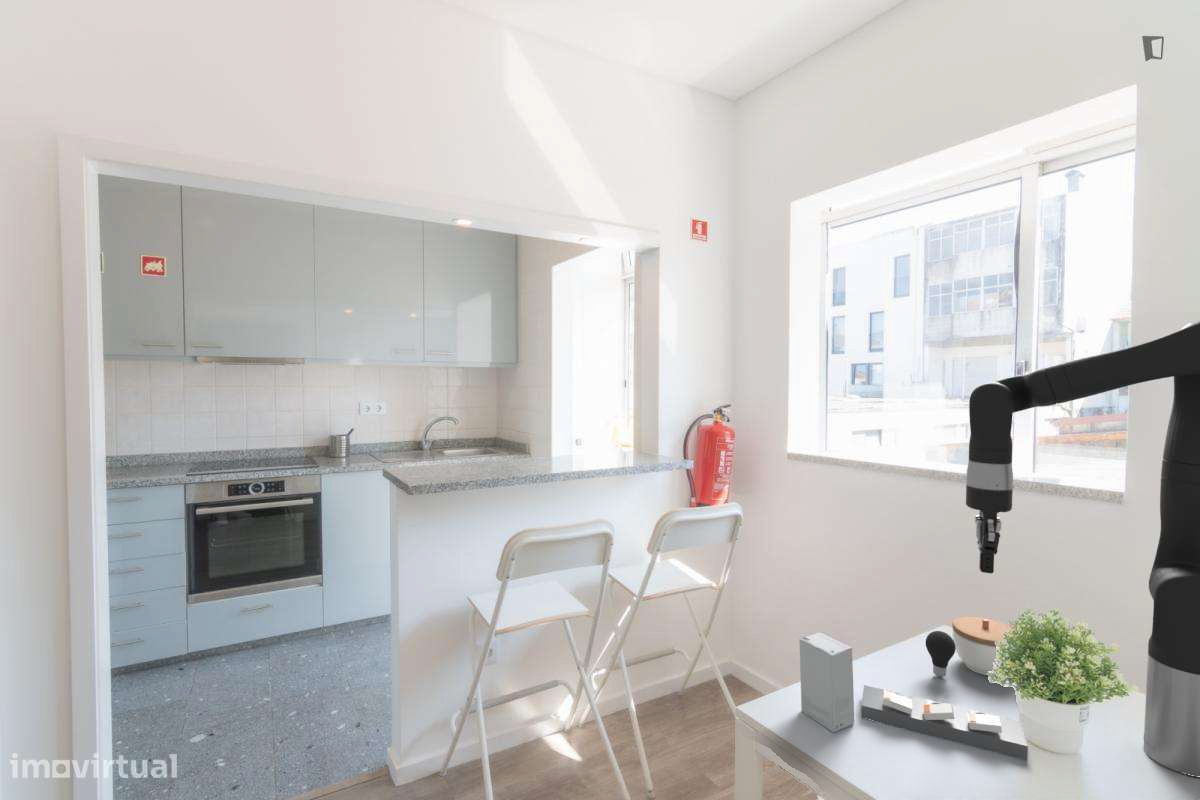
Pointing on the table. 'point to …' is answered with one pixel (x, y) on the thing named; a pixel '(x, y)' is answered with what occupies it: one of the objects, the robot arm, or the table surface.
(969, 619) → the lidded bowl
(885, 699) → the rocker
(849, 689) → the skincare box
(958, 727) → the power strip
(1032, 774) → the table surface
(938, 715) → the rocker middle
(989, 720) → the rocker
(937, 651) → the light bulb
